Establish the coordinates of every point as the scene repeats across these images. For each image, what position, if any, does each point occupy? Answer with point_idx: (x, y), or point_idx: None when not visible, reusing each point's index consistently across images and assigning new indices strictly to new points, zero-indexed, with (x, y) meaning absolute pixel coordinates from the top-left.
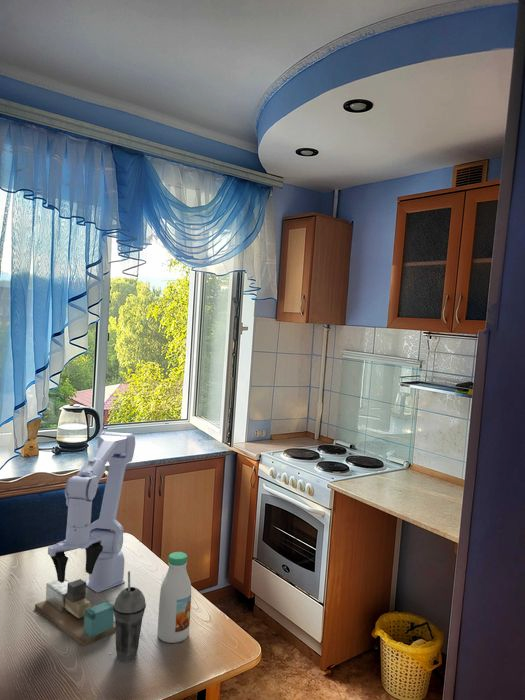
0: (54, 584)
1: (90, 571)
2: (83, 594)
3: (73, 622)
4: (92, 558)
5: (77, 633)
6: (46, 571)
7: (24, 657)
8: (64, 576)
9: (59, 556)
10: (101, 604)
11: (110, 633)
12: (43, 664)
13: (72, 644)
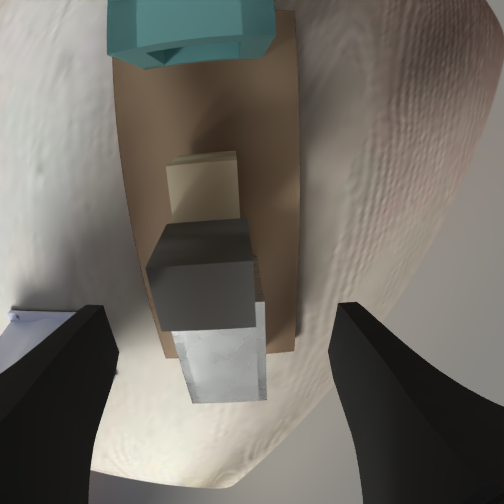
0: (246, 384)
1: (91, 315)
2: (176, 232)
3: (254, 157)
4: (32, 405)
5: (285, 70)
6: (181, 445)
7: (449, 114)
8: (364, 327)
9: (499, 494)
10: (156, 34)
11: None
12: (428, 41)
13: (314, 52)
